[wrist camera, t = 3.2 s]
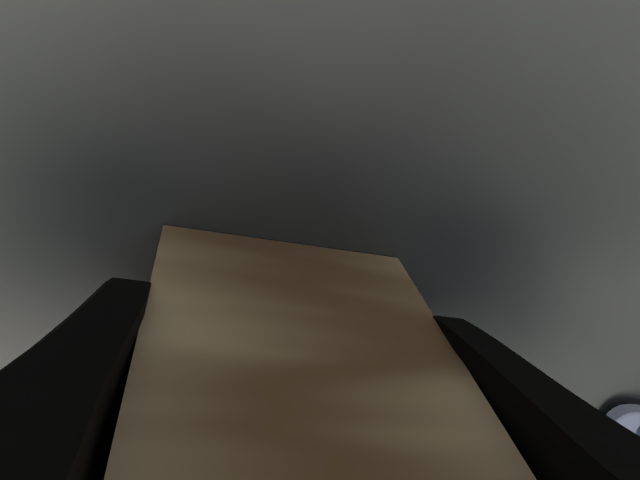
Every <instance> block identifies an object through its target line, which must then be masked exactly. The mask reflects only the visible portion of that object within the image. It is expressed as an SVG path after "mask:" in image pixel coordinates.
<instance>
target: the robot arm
mask: <svg viewBox="0 0 640 480" xmlns="http://www.w3.org/2000/svg"><path fill="white" fill-rule="evenodd" d="M151 284H152V283H150V282H146V281H137V280H129V279H120V278H111V279H109V280H108V281H106V282H105V283H104V284H103V285H102V286H101V287H100V288H99V289H98V290H97V291H96V292H94V293H93V294H92V295H91V296H90V297H89V298H88V299H87V300H86V301H85V302H84V303H83V304H82V305H81V306H80V307H79V308H77V309H76V310H75V311H74V312H73V313H72V314H71V315H70V316H69V317H67V318H66V319H65V320H64V321H63V322H61V323H60V324H59V325H58V326H57V327H55V328H54V329H53V330H52V331H51V332H49V333H48V334H47V335H46V336H45V337H44V338H42V339H41V340H40V341H39V342H37V343H36V344H35V345H34V346H32V347H31V348H30V349H28V350H27V351H26V352H24V353H23V354H22V355H20V356H19V357H18V358H16V359H15V360H14V361H12V362H11V363H9V364H8V365H7V366H5V367H4V368H3V369H1V370H0V480H104V476H105V472H106V467H107V463H108V459H109V455H110V450H111V446H112V442H113V438H114V433H115V429H116V425H117V420H118V416H119V412H120V408H121V403H122V399H123V395H124V391H125V386H126V382H127V378H128V373H129V369H130V365H131V361H132V356H133V352H134V348H135V344H136V339H137V335H138V331H139V327H140V325H141V323H142V320H143V318H144V314H145V310H146V306H147V301H148V297H149V292H150V288H151ZM433 318H434V319H435V321H436V323H437V324H438V326H439V327H440V329H441V331H442V332H443V334H444V335H445V337H446V339H447V340H448V342H449V344H450V345H451V347H452V348H453V350H454V351H455V352H456V354H457V355H458V356H459V358H460V359H461V360H462V362H463V363H464V364H465V366H466V367H467V369H468V371H469V372H470V374H471V375H472V377H473V379H474V380H475V382H476V383H477V385H478V387H479V388H480V390H481V391H482V393H483V395H484V396H485V398H486V399H487V401H488V403H489V404H490V406H491V407H492V409H493V411H494V412H495V414H496V415H497V417H498V419H499V420H500V422H501V423H502V425H503V427H504V428H505V430H506V431H507V433H508V435H509V436H510V438H511V439H512V441H513V443H514V444H515V446H516V447H517V449H518V451H519V452H520V454H521V455H522V457H523V459H524V460H525V462H526V463H527V465H528V467H529V468H530V470H531V471H532V473H533V475H534V476H535V478H536V479H537V480H640V405H635V404H623V405H619V406H616V407H614V408H612V409H611V410H610V411H608V413H607V414H606V415H605V414H604V413H602V412H601V411H599V410H598V409H596V408H594V407H593V406H591V405H590V404H588V403H587V402H585V401H584V400H582V399H581V398H579V397H578V396H576V395H575V394H573V393H572V392H570V391H569V390H568V389H566V388H565V387H563V386H562V385H560V384H559V383H557V382H556V381H555V380H553V379H552V378H550V377H549V376H547V375H546V374H545V373H543V372H542V371H540V370H539V369H538V368H536V367H535V366H533V365H532V364H530V363H529V362H528V361H526V360H525V359H523V358H522V357H521V356H519V355H518V354H516V353H515V352H513V351H512V350H511V349H509V348H508V347H506V346H505V345H504V344H502V343H501V342H499V341H498V340H496V339H495V338H493V337H492V336H490V335H489V334H487V333H486V332H484V331H483V330H481V329H479V328H478V327H476V326H474V325H473V324H471V323H469V322H467V321H465V320H464V319H459V318H450V317H442V316H433Z"/></svg>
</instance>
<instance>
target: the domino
mask: <svg viewBox="0 0 640 480" xmlns="http://www.w3.org/2000/svg"><path fill="white" fill-rule="evenodd" d="M150 283H152V284H151V288H150V292H149V297H148V301H147V306H146V310H145V314H144V318H143V320H142V323H141V325H140V327H139V331H138V335H137V339H136V344H135V348H134V352H133V356H132V361H131V365H130V369H129V373H128V378H127V382H126V386H125V391H124V395H123V399H122V403H121V408H120V412H119V416H118V420H117V425H116V429H115V433H114V438H113V442H112V446H111V450H110V455H109V459H108V463H107V467H106V472H105V476H104V480H537V479H536V478H535V476H534V475H533V473H532V471H531V470H530V468H529V467H528V465H527V463H526V462H525V460H524V459H523V457H522V455H521V454H520V452H519V451H518V449H517V447H516V446H515V444H514V443H513V441H512V439H511V438H510V436H509V435H508V433H507V431H506V430H505V428H504V427H503V425H502V423H501V422H500V420H499V419H498V417H497V415H496V414H495V412H494V411H493V409H492V407H491V406H490V404H489V403H488V401H487V399H486V398H485V396H484V395H483V393H482V391H481V390H480V388H479V387H478V385H477V383H476V382H475V380H474V379H473V377H472V375H471V374H470V372H469V371H468V369H467V367H466V366H465V364H464V363H463V362H462V360H461V359H460V358H459V356H458V355H457V354H456V352H455V351H454V350H453V348H452V347H451V345H450V344H449V342H448V340H447V339H446V337H445V335H444V334H443V332H442V331H441V329H440V327H439V326H438V324H437V323H436V321H435V319H434V318H433V316H434V315H433V313H432V311H431V310H430V308H429V307H428V305H427V304H426V302H425V300H424V299H423V297H422V296H421V294H420V292H419V291H418V289H417V288H416V286H415V284H414V283H413V281H412V280H411V278H410V276H409V275H408V273H407V272H406V270H405V268H404V267H403V265H402V264H401V262H400V260H399V259H398V258H395V257H388V256H381V255H374V254H366V253H359V252H352V251H345V250H338V249H331V248H324V247H317V246H310V245H303V244H296V243H289V242H281V241H274V240H267V239H260V238H253V237H246V236H239V235H232V234H225V233H218V232H211V231H204V230H197V229H189V228H182V227H175V226H168V225H163V228H162V232H161V237H160V241H159V245H158V250H157V254H156V258H155V262H154V267H153V271H152V275H151V279H150Z"/></svg>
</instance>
